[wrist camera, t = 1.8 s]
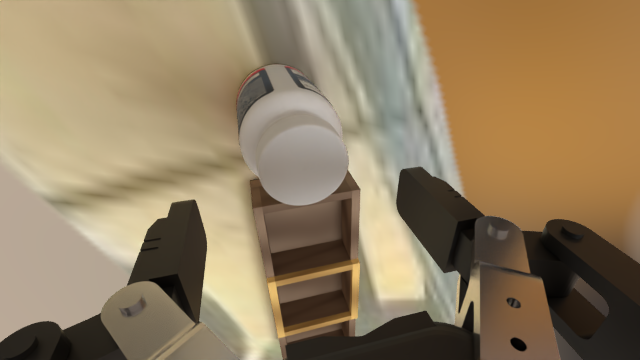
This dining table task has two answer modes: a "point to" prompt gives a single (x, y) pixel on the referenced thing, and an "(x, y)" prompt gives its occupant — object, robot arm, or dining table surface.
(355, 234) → the rack
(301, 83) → the pill bottle
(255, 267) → the dining table surface
